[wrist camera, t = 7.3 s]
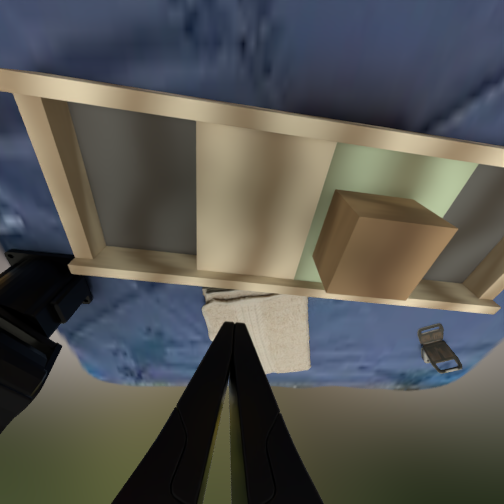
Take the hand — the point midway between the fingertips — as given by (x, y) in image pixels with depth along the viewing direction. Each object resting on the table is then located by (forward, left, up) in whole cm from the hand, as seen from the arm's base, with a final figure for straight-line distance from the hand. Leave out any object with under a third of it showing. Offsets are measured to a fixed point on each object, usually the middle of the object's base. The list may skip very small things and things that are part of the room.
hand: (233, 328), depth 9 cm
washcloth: (+4, -17, -14) cm, 22 cm away
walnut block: (+9, 0, -10) cm, 14 cm away
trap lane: (+6, 0, -13) cm, 14 cm away
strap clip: (+28, -17, -13) cm, 35 cm away
